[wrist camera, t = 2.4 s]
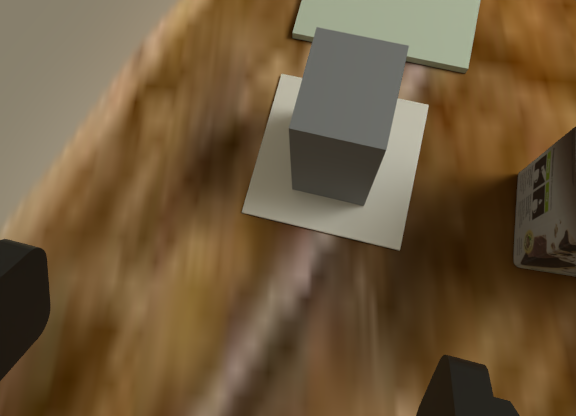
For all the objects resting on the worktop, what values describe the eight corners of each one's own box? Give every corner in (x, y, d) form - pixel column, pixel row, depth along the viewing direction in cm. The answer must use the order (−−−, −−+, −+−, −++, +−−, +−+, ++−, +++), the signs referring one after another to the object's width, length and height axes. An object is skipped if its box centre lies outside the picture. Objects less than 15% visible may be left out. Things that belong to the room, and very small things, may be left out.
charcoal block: (381, 125, 34) (409, 45, 25) (363, 206, 32) (386, 149, 24) (312, 110, 34) (316, 27, 26) (292, 189, 33) (288, 128, 24)
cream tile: (428, 106, 34) (428, 104, 34) (399, 250, 32) (400, 250, 32) (281, 75, 35) (281, 73, 35) (242, 212, 33) (241, 212, 32)
